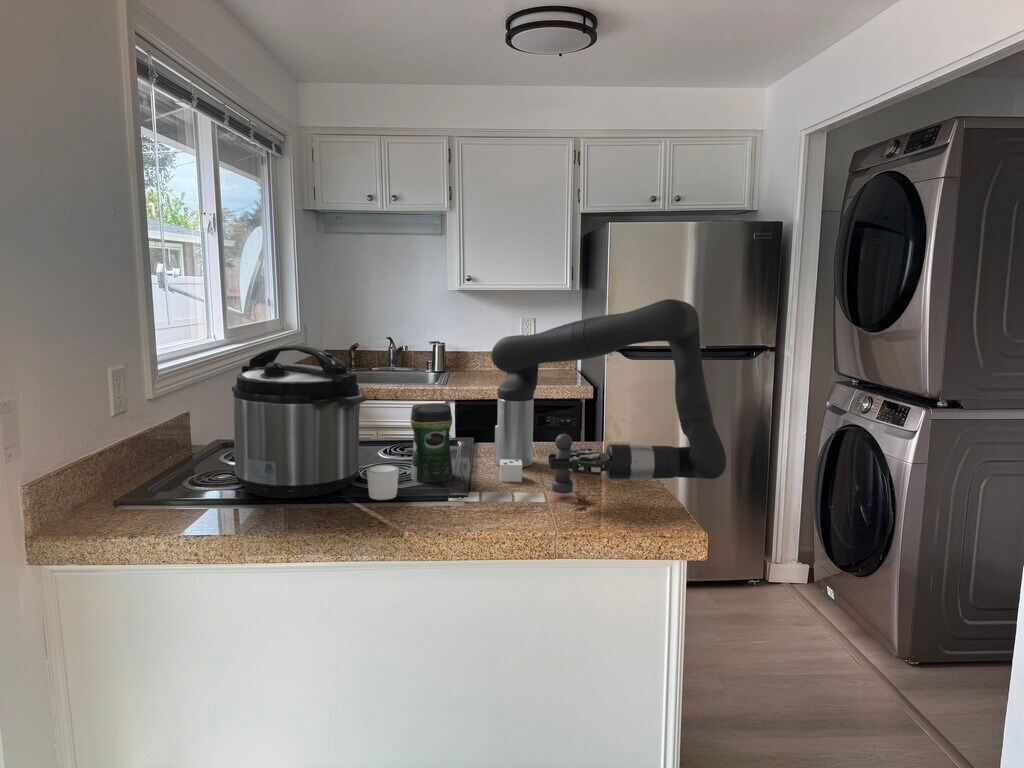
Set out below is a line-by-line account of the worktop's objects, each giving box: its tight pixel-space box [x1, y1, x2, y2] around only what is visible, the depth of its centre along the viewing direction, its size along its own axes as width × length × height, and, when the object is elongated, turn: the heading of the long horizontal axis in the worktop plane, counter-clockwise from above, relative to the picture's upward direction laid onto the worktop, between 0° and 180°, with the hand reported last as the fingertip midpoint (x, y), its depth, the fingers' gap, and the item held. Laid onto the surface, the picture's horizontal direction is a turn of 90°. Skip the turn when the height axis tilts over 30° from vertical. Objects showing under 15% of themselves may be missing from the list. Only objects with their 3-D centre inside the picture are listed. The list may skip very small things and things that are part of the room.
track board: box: [447, 490, 587, 511], centre depth 148 cm, size 30×10×1 cm, turn 92°
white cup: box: [366, 464, 400, 501], centre depth 147 cm, size 7×7×7 cm
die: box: [499, 459, 523, 483], centre depth 162 cm, size 5×5×5 cm
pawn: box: [551, 433, 574, 493], centre depth 147 cm, size 4×4×12 cm
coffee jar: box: [409, 402, 454, 483], centre depth 161 cm, size 10×8×19 cm
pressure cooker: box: [231, 345, 367, 499], centre depth 156 cm, size 30×28×32 cm
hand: (549, 461), depth 147 cm, fingers closed on pawn, 3 cm apart
